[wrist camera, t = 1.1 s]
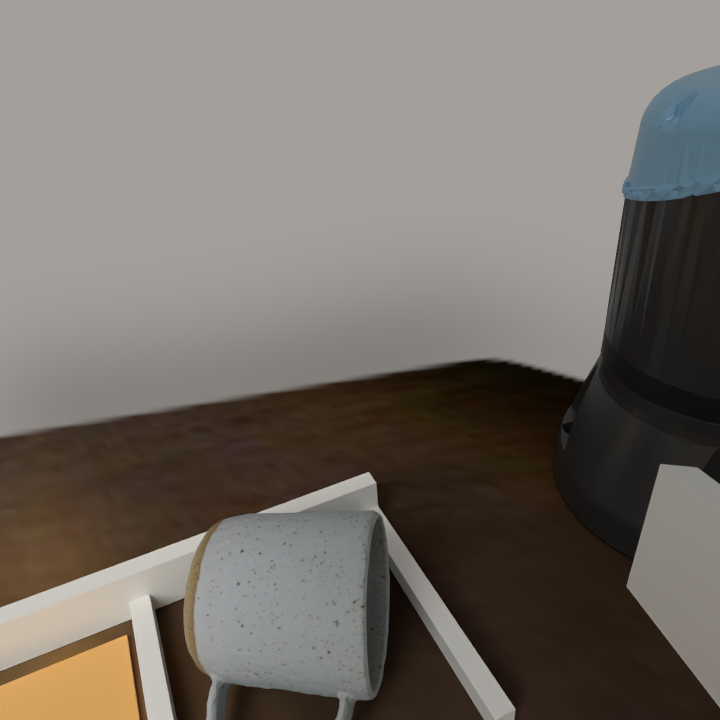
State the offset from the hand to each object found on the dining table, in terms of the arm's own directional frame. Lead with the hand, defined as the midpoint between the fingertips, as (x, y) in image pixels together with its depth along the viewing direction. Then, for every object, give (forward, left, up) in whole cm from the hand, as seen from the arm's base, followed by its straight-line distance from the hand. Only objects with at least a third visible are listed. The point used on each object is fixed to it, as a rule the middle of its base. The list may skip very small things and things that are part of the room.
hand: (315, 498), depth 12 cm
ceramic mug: (-1, -9, -19) cm, 21 cm away
